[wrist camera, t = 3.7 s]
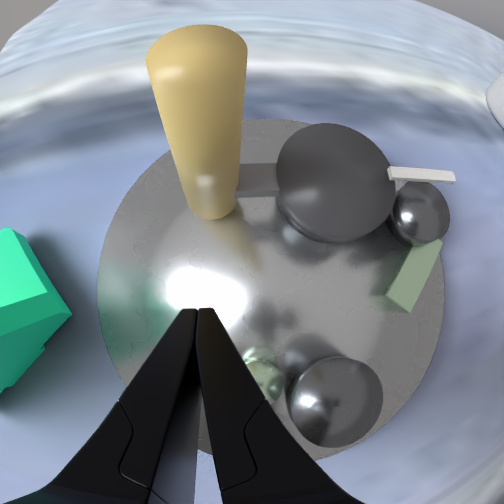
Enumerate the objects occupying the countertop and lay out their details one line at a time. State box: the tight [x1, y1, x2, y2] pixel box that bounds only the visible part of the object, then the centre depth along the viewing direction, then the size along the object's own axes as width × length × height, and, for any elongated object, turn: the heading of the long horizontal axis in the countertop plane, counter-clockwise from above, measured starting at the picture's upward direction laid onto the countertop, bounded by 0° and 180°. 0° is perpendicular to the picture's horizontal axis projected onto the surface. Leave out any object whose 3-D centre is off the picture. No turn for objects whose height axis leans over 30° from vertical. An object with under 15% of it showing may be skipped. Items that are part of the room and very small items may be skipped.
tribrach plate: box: [97, 119, 450, 461], centre depth 18 cm, size 22×22×3 cm
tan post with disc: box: [146, 25, 456, 242], centre depth 14 cm, size 16×7×11 cm, turn 94°
